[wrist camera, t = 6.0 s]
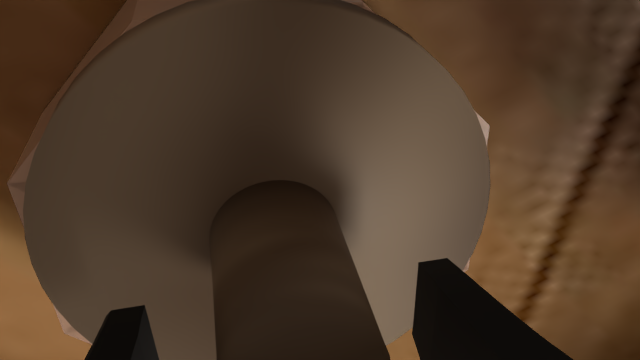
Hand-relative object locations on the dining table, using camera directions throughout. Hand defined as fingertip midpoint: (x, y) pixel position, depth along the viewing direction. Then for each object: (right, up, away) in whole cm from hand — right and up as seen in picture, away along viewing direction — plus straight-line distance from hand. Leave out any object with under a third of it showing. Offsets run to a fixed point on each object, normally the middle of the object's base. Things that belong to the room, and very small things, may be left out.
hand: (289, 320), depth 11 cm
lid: (-1, +2, +2) cm, 3 cm away
